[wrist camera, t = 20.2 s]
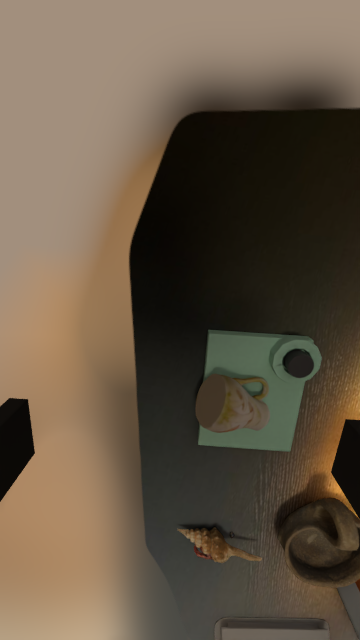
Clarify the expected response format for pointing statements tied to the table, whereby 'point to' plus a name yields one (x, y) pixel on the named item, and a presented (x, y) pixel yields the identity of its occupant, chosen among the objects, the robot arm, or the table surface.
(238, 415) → the mug
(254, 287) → the table surface
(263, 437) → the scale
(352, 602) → the alarm clock
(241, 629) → the book
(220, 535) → the spiral seashell
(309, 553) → the bowl
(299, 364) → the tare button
